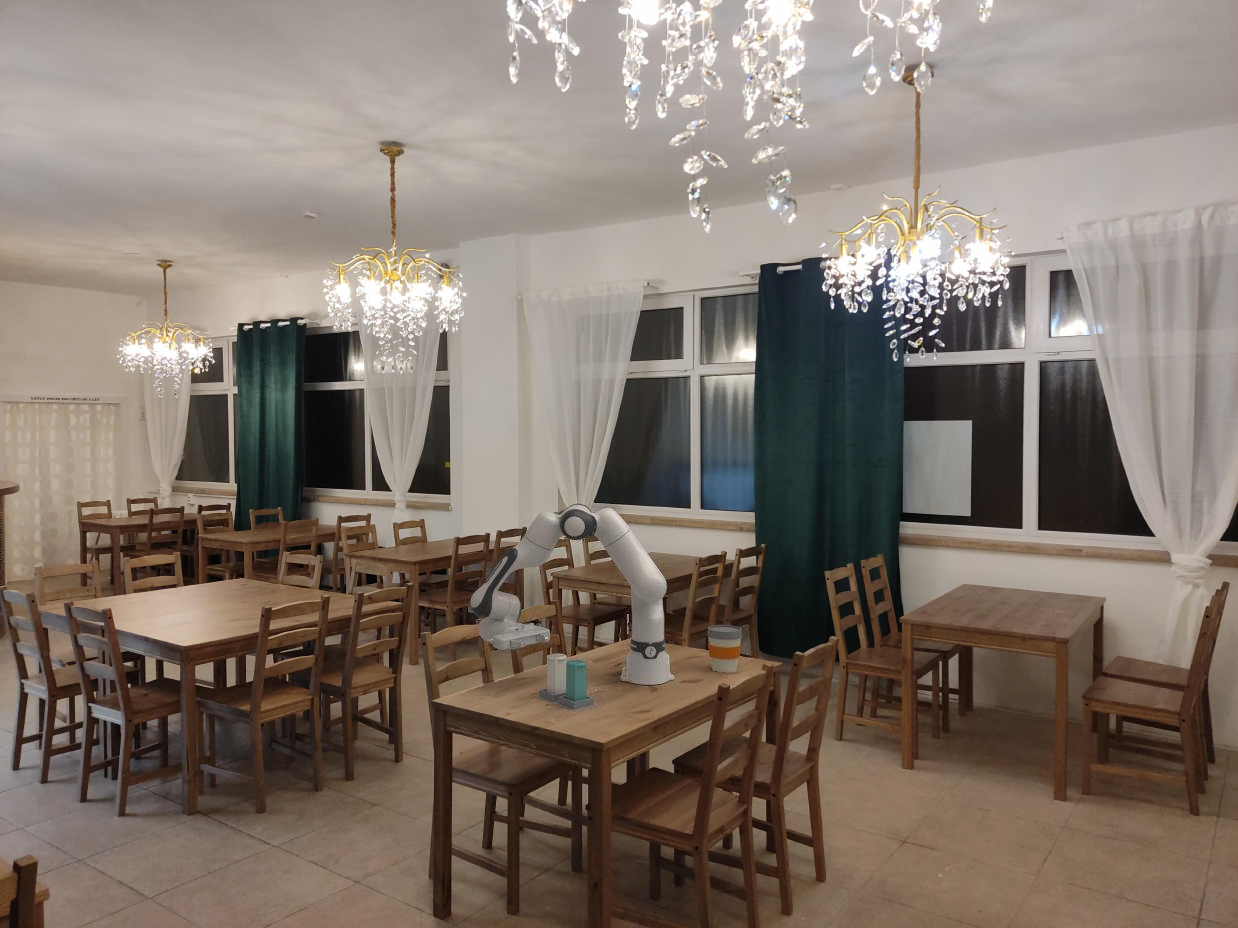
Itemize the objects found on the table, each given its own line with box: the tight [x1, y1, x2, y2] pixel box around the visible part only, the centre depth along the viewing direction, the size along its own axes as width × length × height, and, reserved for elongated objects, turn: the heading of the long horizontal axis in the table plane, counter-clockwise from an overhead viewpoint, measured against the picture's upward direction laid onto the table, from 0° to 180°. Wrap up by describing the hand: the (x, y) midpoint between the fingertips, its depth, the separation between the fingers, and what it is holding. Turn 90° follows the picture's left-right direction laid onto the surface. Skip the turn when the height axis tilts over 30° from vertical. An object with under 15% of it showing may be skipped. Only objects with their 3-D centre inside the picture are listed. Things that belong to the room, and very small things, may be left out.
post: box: [546, 653, 568, 695], centre depth 278 cm, size 6×6×13 cm
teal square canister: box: [566, 658, 588, 702], centre depth 270 cm, size 6×6×13 cm
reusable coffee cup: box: [707, 624, 743, 674], centre depth 319 cm, size 13×13×15 cm
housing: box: [534, 687, 600, 712], centre depth 274 cm, size 20×10×4 cm, turn 41°
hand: (535, 642), depth 287 cm, fingers open, 8 cm apart
